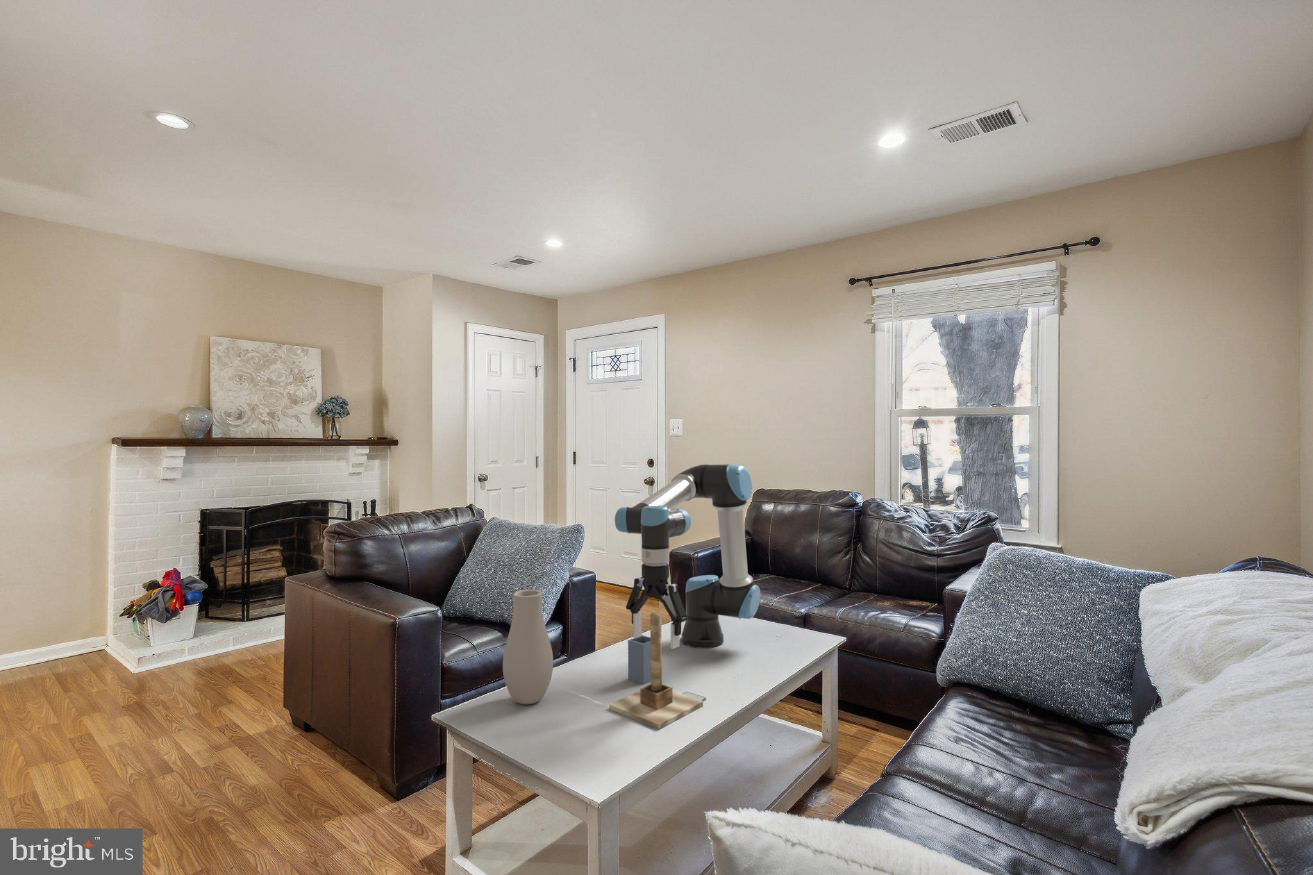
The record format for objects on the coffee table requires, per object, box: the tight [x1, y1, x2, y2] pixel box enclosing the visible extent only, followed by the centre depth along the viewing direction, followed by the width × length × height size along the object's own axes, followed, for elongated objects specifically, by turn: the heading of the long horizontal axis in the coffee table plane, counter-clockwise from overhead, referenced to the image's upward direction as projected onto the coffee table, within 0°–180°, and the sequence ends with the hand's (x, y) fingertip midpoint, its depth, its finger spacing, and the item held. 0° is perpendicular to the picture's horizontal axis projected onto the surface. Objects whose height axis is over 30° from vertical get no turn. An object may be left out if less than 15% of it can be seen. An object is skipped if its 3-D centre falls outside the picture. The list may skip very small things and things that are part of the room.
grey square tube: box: [627, 634, 651, 685], centre depth 185 cm, size 6×6×12 cm
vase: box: [502, 589, 554, 705], centre depth 170 cm, size 14×14×30 cm
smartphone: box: [681, 691, 707, 702], centre depth 167 cm, size 7×1×15 cm
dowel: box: [649, 612, 663, 693], centre depth 165 cm, size 3×3×24 cm
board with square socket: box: [608, 683, 704, 730], centre depth 165 cm, size 18×18×5 cm
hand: (655, 641), depth 165 cm, fingers open, 13 cm apart
